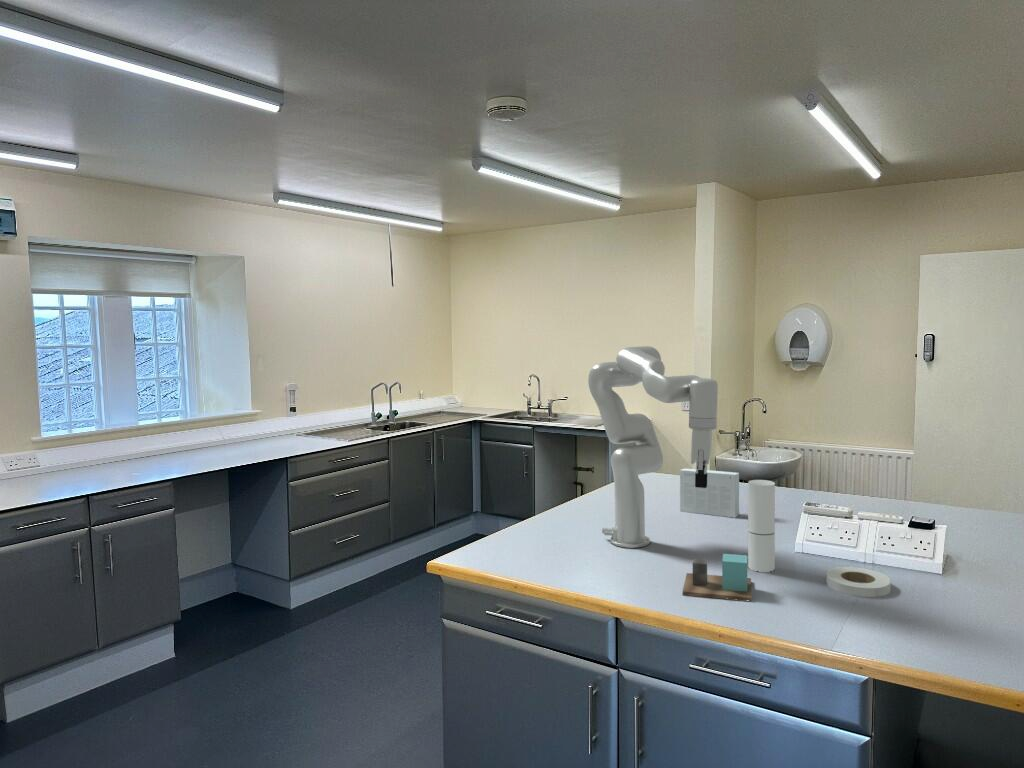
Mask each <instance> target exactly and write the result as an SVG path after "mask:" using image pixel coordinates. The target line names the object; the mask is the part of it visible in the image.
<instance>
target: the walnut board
mask: <svg viewBox="0 0 1024 768" xmlns="http://www.w3.org/2000/svg"><path fill="white" fill-rule="evenodd" d="M683 583H684V584H683V588H682V596H687V597H688V596H689V597H698V596H701V597H700V598H709V597H715V598H714V599H719V598H728V599H727V600H730V599H737V600H736V601H741V600H749V601H748V602H752V578H751V577H750V578H749V577H747V592H745V591H734V590H723V589H722V575H718V574H717V575H716V574H715V575H714V574H708V559H702V558H693V559H692V573H691V572H690V573H689V572H687V573H686V574H685V580H684V582H683Z"/></svg>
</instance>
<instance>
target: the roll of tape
mask: <svg viewBox="0 0 1024 768" xmlns="http://www.w3.org/2000/svg"><path fill="white" fill-rule="evenodd" d="M825 581H826V583H827V584H826V583H825V584H826V585H827V586H828V588H830V589H832V590H833V589H834V591H835V592H838V593H842V594H845V595H849V596H855V597H862V598H877V597H884V596H887V595H889V594H890V593H891V589H892V581H891V579H890V578H889V576H887V575H885V573H882V572H878V571H877V570H874V569H869V568H863V567H856V566H855V567H854V566H838V567H832V568H830V569H829V570H827V571H826V574H825Z"/></svg>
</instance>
